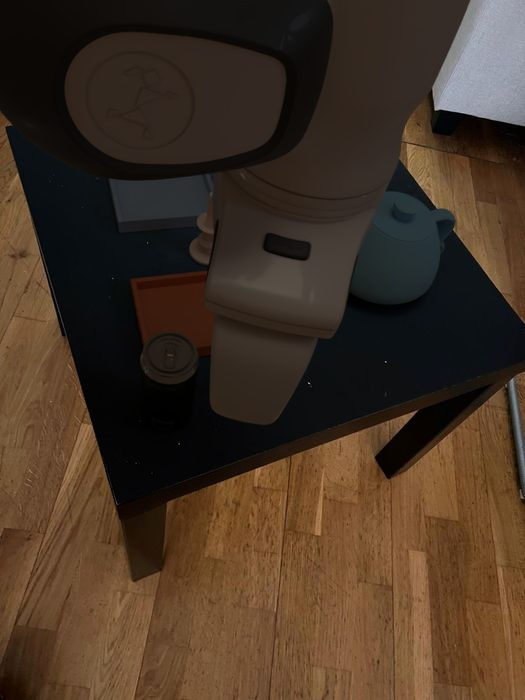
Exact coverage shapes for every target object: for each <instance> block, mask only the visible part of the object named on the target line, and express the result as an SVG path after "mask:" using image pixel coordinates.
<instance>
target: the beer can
mask: <svg viewBox="0 0 525 700" xmlns="http://www.w3.org/2000/svg"><path fill="white" fill-rule="evenodd" d="M139 364H140V365H139V366H140V383H141V384H140V385H141V386H140V388H141V389H140V391H141V393H140V394H141V413H142V418H143V420H144V422H145V423H146V424H147V425H148V426H149V427H150V428H151V429H153V430H155V431H157V432H160V433H174V432H176V431H179V430H181V429H183V428H184V427H185V426H186V425H188V423H189V421H190V420H191V419H192V415H193V410H194V403H195V396H196V389H197V388H196V387H197V381H198V380H197V379H198V373H199V366H200V357H199V356H198V352H197V348H196V346H195V344H194V343H193V341H192V340H191V339H190V338H189V337H188V336H186V335H184V334H182V333H179V332H174V331H164V332H161V333H158V334H155V335H154V336H152V337H151V338H149V340H148V341H147V342H146V343H145V345H144V348H143V347H142V350H141V354H140V357H139Z"/></svg>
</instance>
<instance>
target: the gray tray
mask: <svg viewBox="0 0 525 700" xmlns="http://www.w3.org/2000/svg"><path fill="white" fill-rule="evenodd" d="M107 183H108V188H109V192H110V197H111V201H112V207H113V211H114V217H115V221H116V226H117V230H118V233H119V234H125V233H136V232H148V231H149V232H150V231H159V230H160V231H161V230H173V229H185V228H195V227H198V226H197V219H198V217H199V216H200V215H201V214H203V213H207V209H208V202H209V196H210V193H211V192H212V191H213V183H214V182H213V181H212V178H211V174H204V175H197V176H190V177H180V178H171V179H161V180H146V181H128V180H116V179H109V178H107Z"/></svg>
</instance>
